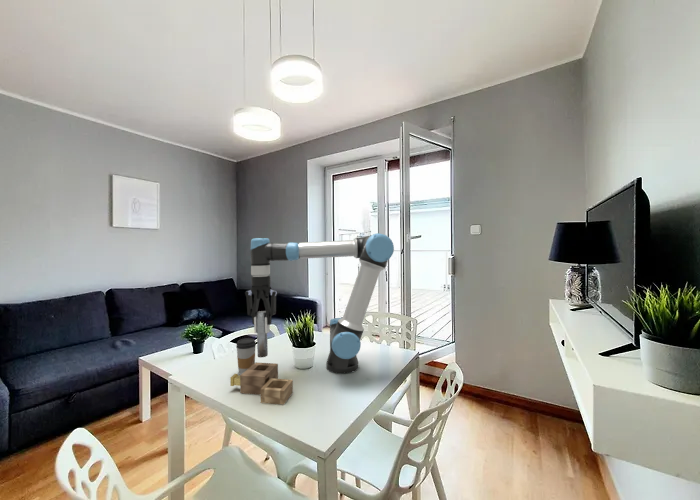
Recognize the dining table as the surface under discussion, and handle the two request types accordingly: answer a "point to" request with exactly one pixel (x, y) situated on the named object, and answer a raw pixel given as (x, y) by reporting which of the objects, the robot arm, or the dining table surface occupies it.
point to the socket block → (257, 377)
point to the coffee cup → (245, 354)
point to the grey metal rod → (261, 335)
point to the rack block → (276, 391)
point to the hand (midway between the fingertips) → (262, 332)
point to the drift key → (236, 380)
